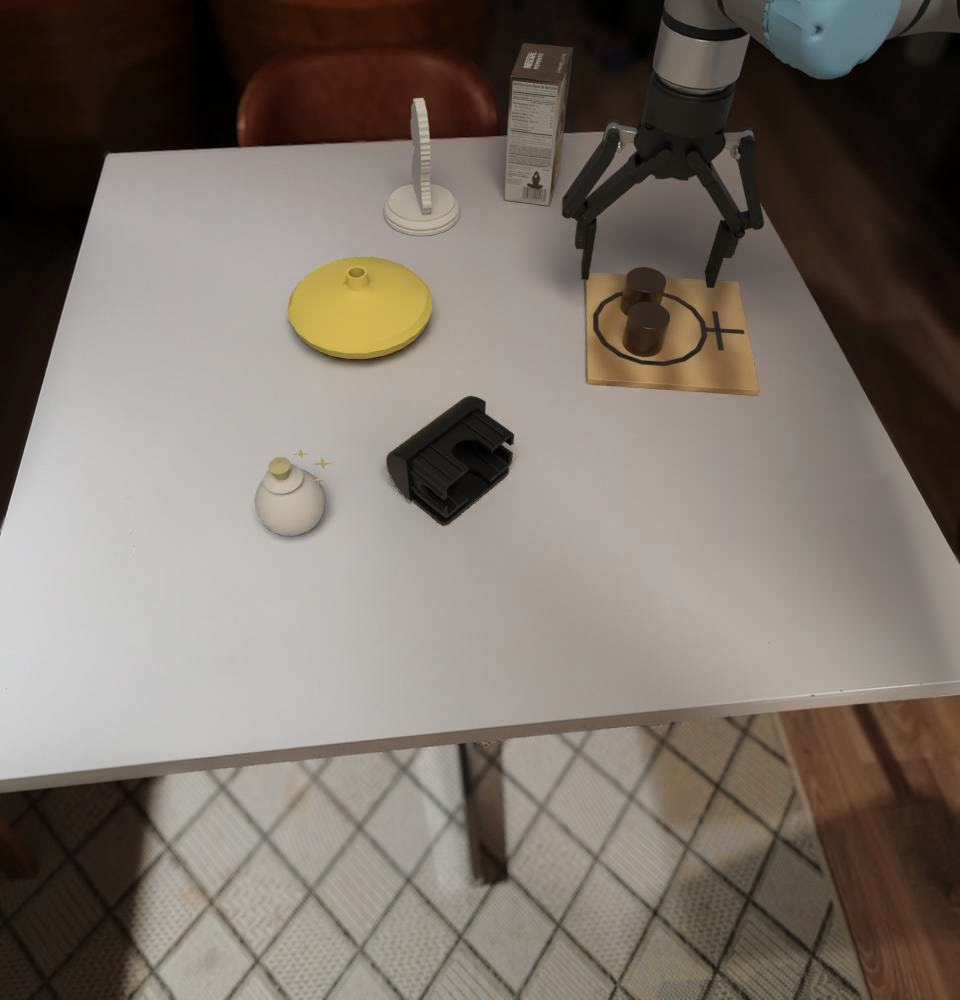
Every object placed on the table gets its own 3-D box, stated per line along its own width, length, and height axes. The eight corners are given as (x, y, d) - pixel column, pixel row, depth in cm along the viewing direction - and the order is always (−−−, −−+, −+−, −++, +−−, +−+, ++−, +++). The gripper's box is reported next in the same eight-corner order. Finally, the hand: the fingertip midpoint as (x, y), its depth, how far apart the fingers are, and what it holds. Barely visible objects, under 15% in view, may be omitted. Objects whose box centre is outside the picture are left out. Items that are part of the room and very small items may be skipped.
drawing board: (736, 287, 92) (738, 280, 91) (757, 395, 81) (760, 389, 80) (585, 277, 92) (586, 271, 91) (586, 384, 81) (587, 378, 81)
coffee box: (514, 164, 107) (522, 40, 94) (560, 170, 106) (574, 46, 93) (502, 201, 101) (509, 74, 88) (550, 207, 101) (564, 81, 88)
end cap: (461, 431, 77) (461, 383, 72) (514, 470, 74) (518, 423, 69) (388, 488, 73) (382, 441, 67) (440, 531, 70) (439, 486, 64)
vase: (461, 316, 88) (461, 264, 82) (370, 395, 80) (363, 344, 74) (357, 263, 93) (350, 211, 87) (262, 333, 85) (248, 281, 79)
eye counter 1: (657, 296, 89) (665, 267, 86) (660, 322, 86) (667, 293, 83) (619, 294, 89) (625, 265, 86) (621, 319, 87) (627, 290, 83)
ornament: (265, 496, 72) (240, 424, 64) (345, 491, 72) (331, 419, 64) (260, 551, 68) (233, 482, 60) (344, 545, 69) (329, 476, 61)
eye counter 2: (661, 331, 85) (669, 302, 82) (663, 358, 83) (672, 330, 80) (621, 328, 86) (627, 300, 82) (622, 356, 83) (629, 327, 80)
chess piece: (451, 188, 103) (450, 71, 91) (467, 231, 97) (468, 112, 85) (378, 196, 101) (367, 78, 89) (390, 240, 96) (380, 121, 84)
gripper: (829, 62, 69) (756, 262, 86) (552, 47, 70) (534, 248, 87) (847, 104, 65) (766, 305, 82) (550, 87, 65) (532, 290, 82)
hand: (646, 276), depth 84 cm, fingers open, 13 cm apart
